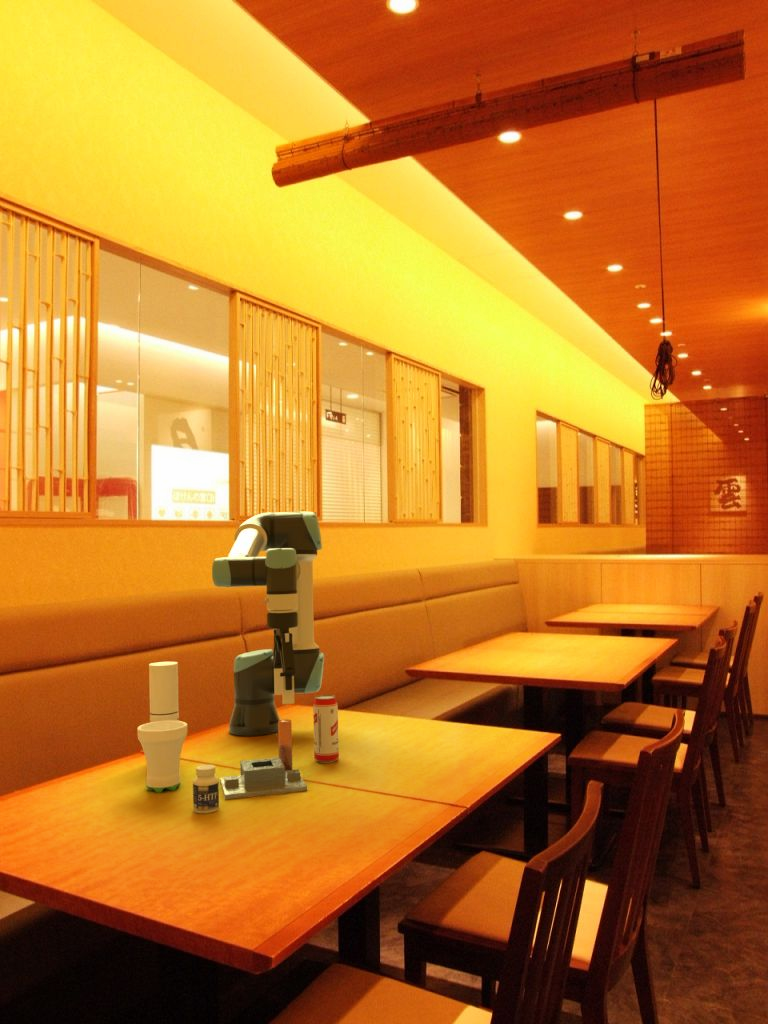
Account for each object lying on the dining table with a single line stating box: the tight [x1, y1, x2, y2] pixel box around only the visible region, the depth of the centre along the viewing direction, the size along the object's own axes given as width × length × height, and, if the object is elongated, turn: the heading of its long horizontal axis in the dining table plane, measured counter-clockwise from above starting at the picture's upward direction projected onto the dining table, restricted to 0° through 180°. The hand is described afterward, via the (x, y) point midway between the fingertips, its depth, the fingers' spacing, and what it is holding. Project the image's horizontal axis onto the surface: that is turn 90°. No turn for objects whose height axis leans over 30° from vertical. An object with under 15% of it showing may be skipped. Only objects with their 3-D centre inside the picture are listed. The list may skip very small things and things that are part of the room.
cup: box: [137, 720, 188, 794], centre depth 191 cm, size 11×11×14 cm
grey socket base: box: [219, 756, 308, 800], centre depth 190 cm, size 14×18×5 cm
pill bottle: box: [192, 764, 220, 814], centre depth 174 cm, size 5×5×9 cm
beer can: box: [312, 694, 340, 764], centre depth 211 cm, size 6×6×16 cm
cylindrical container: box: [148, 661, 180, 723], centre depth 215 cm, size 7×7×25 cm
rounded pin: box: [277, 719, 294, 771], centre depth 203 cm, size 3×3×12 cm
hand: (284, 699), depth 203 cm, fingers open, 13 cm apart
